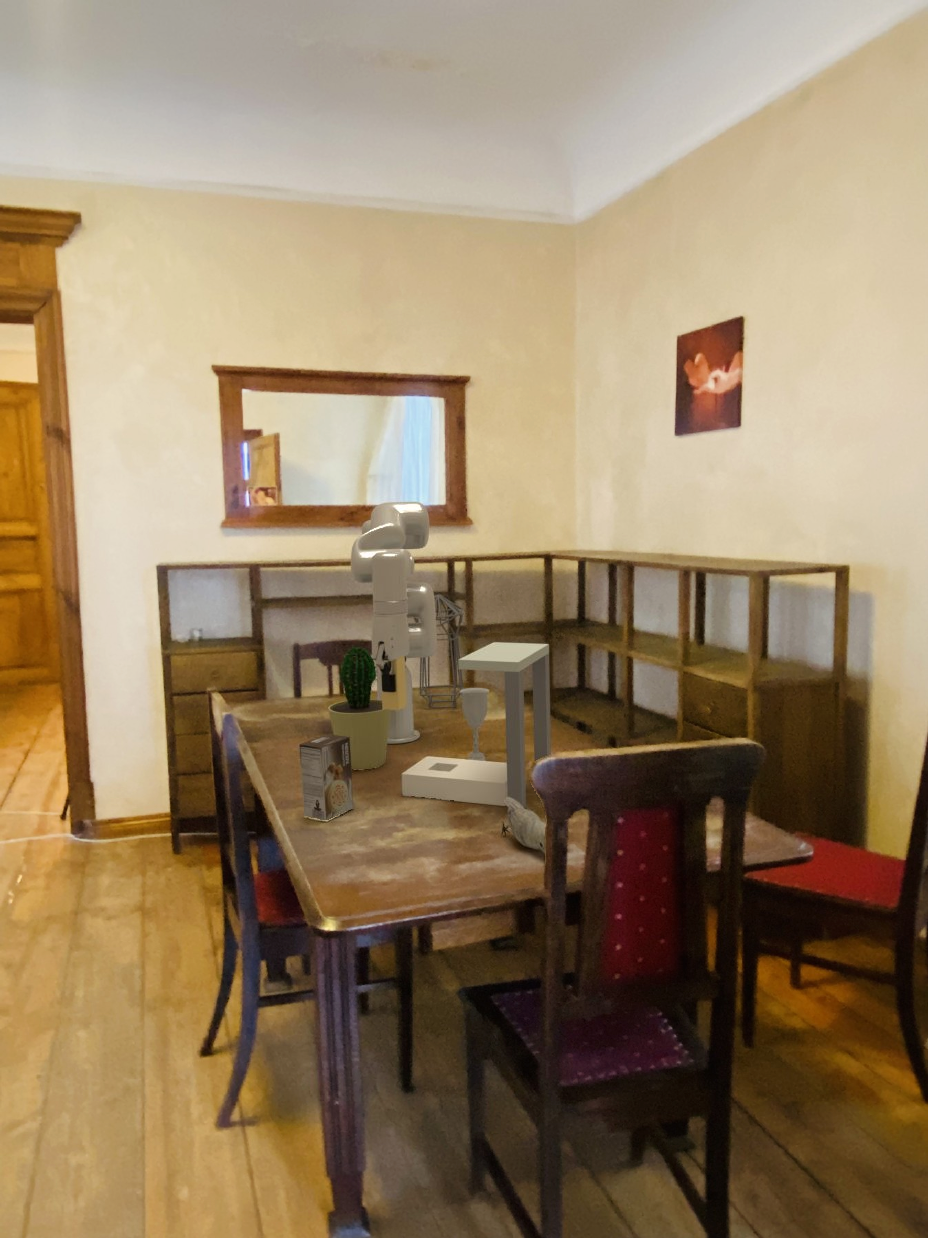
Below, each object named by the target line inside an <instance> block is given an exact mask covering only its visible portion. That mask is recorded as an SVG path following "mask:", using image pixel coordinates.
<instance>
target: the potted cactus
mask: <svg viewBox="0 0 928 1238" xmlns="http://www.w3.org/2000/svg"><path fill="white" fill-rule="evenodd" d="M341 656H342V657H344V659H343V660H342V661H341V665H340V666H338V668H340V670H338V672H340V673H338V672H337V674H339V675H340V676H339V678H337V680H338V682H341V684H343V685H342V686H343V688H344V689H343V690H342V692H341V693H343V692H344V693H343V695H344V696H343V697H342V698H344V699H345V698H346V700H342V701H337V702H335V703H332V704H330V705H328V707H327V710H328V712H329V713H328V714H329V719H330V724H331V729H332V733H333V734H332V735H339V736H346V737H350V752H351V768H352V769H371V768H375V767H378V768H380V766H381V765H383V764H384V763H386V757H387V746H388V743H387V739H388V729H389V719H390V710H388V709H383V708H382V700H378V698H377V699H373V698H371V696H372V694H375V693H376V692H374V691H373V690H372V688H373V684H374V683H375V681H376V682H377V681H378V680H377V677H378V676H377V675H376V674H377V673H376V672H377V671H376V667H377V666H376V664H375V660H373V658H372V652H369V651H368V649H367V647H363V646H362V647H361V646H360V647H356V646H352V647H351V648H350V647H348V651H347V652H345V654H344V653H343V654H341ZM384 765H385V764H384ZM384 765H383V766H384ZM381 767H382V766H381ZM375 769H376V768H375ZM371 770H372V769H371Z"/></svg>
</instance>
